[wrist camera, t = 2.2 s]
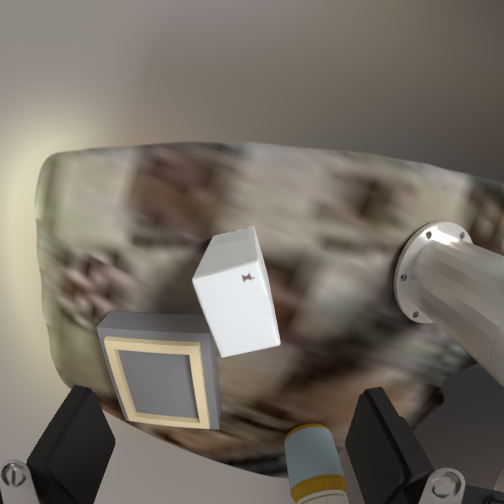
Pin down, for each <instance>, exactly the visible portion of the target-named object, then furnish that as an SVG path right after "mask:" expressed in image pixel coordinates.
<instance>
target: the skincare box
mask: <svg viewBox="0 0 504 504" xmlns="http://www.w3.org/2000/svg"><path fill="white" fill-rule="evenodd" d="M192 283H193V286H194V289H195V291H196V294H197V297H198V300H199V303H200V305H201V308H202V311H203V313H204V316H205V318H206V321H207V323H208V326H209V328H210V331H211V333H212V336H213V338H214V341H215V343H216V346H217V348H218V350H219V353H220V356H221V357H222V358H223V357H228V356H233V355H237V354H242V353H247V352H252V351H257V350H261V349H266V348H270V347H275V346H279V345H280V337H279V332H278V326H277V321H276V315H275V310H274V306H273V301H272V296H271V290H270V285H269V280H268V276H267V271H266V267H265V264H264V260H263V256H262V253H261V249H260V246H259V242H258V238H257V235H256V231H255V228H254V226H253V225H252V226H248V227H245V228H241V229H237V230H233V231H230V232H226V233H223V234H219V235H215V236H213V237H212V239H211V241H210V243H209V245H208V247H207V249H206V251H205V253H204V256H203V258H202V260H201V262H200V264H199V266H198V268H197V270H196V272H195V274H194V276H193V278H192Z"/></svg>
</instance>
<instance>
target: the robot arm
mask: <svg viewBox="0 0 504 504" xmlns="http://www.w3.org/2000/svg"><path fill="white" fill-rule="evenodd" d="M394 293H395V298H396V301H397V304H398V306H399V307H400V309H401V311H402V312H403V313H404V314H405V315H406V316H407V317H408V318H410V319H411V320H413V321H415V322H418V323H425V324H427V323H435V324H436V325H438V326H439V327H440V328H441V329H442V330H443V331H444V332H445V333H447V334H448V335H449V336H450V337H451V338H452V339H453V340H454V341H455V342H457V343H458V344H459V345H460V346H461V347H462V348H463V349H464V350H465V351H466V352H467V353H468V354H469V355H471V356H472V357H473V358H474V359H475V360H476V361H477V362H478V363H479V364H480V365H481V366H482V367H483V368H484V369H485V370H486V371H487V372H488V373H490V375H491V376H493V377H494V378H495V379H496V380H497V381H498V382H499V383H500V384H501V385H502V386H503V387H504V256H501V255H499V254H496V253H494V252H491V251H489V250H486V249H484V248H481V247H479V246H476V245H474V244H473V243H472V241H471V238H470V236H469V235H468V233H467V232H466V231H465V230H464V229H463V228H462V227H461V226H459V225H457V224H455V223H452V222H449V221H435V222H431V223H429V224H427V225H425V226H423V227H422V228H421V229H419V230H418V231H417V232H416V233H415V234H414V235H413V236H412V237H411V238H410V239H409V241H408V242H407V244H406V245H405V247H404V248H403V250H402V253H401V255H400V257H399V259H398V262H397V265H396V269H395V275H394ZM345 445H346V450H347V452H348V455H349V458H350V461H351V464H352V467H353V469H354V472H355V475H356V478H357V481H358V484H359V487H360V490H361V493H362V495H363V499H364V502H365V504H504V470H503V472H502V474H501V476H500V478H499V479H498V482H497V484H496V486H495V490H490V489H485V488H479V487H475V486H470V485H465V480H464V477H463V476H462V474H461V473H460V472H458V471H457V470H454V469H451V468H443V469H439V470H437V471H435V470H434V468H433V466H432V465H431V463H430V461H429V459H428V458H427V456H426V454H425V452H424V450H423V449H422V448H421V445H420V444H419V442H418V440H417V439H416V437H415V435H414V433H413V432H412V430H411V428H410V427H409V425H408V423H407V422H406V420H405V419H404V418H403V417H401V416H400V417H399V415H398V413H397V411H396V410H395V408H394V406H393V405H392V403H391V401H390V400H389V398H388V396H387V395H386V393H385V391H384V390H383V388H382V387H377V388H371V389H366V390H365V391H364V393H363V394H360V396H359V399H358V402H357V406H356V409H355V412H354V416H353V419H352V422H351V425H350V428H349V431H348V434H347V437H346V441H345ZM114 447H115V437H114V435H113V433H112V431H111V429H110V427H109V425H108V422H107V420H106V418H105V416H104V413H103V411H102V409H101V406H100V404H99V401H98V399H97V396H96V394H95V393H94V392H92V390H91V389H90V388H88V387H83V386H78V385H76V386H74V387H73V388H72V390H71V391H70V393H69V394H68V396H67V397H66V399H65V400H64V402H63V403H62V405H61V406H60V408H59V409H58V411H57V413H56V414H55V415H54V417H53V419H52V420H51V422H50V423H49V425H48V427H47V428H46V430H45V431H44V433H43V434H42V436H41V438H40V439H39V441H38V443H37V444H36V446H35V448H34V449H33V451H32V453H31V454H30V456H29V458H28V459H27V463H26V464H25V463H24V462H22V461H20V460H16V459H14V460H8V461H6V462H5V463H3V464H2V465H1V467H0V504H93V503H94V501H95V498H96V495H97V492H98V489H99V487H100V484H101V481H102V478H103V476H104V473H105V470H106V468H107V465H108V462H109V460H110V457H111V455H112V452H113V449H114Z"/></svg>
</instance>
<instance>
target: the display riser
mask: <svg viewBox="0 0 504 504" xmlns="http://www.w3.org/2000/svg"><path fill="white" fill-rule="evenodd" d="M96 328H97V332H98V336H99V339H100V343H101V347H102V350H103V354H104V358H105V361H106V364H107V368H108V371H109V374H110V377H111V380H112V383H113V386H114V389H115V392H116V395H117V398H118V401H119V403H120V406H121V409H122V411H123V414H124V417H125V419H126V420H127V421H133V422H139V423H146V424H154V425H162V426H172V427H183V428H197V429H219V426H220V415H221V401H220V391H219V380H218V368H217V356H216V343H215V341H214V338H213V336H212V333H211V331H210V328H209V326H208V323H207V321H206V318H205V316H204V314H169V313H143V312H123V311H110V312H109V313H108V315H107V316H106V317H105V318H104V319H103V320H102V321H101V322H100V323H99V325H98V326H97V327H96Z"/></svg>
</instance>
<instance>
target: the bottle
mask: <svg viewBox="0 0 504 504" xmlns="http://www.w3.org/2000/svg"><path fill="white" fill-rule="evenodd" d="M284 447H285V455H286V462H287V469H288V476H289V484H290V491H291V496H292V498H293V499H294V501H295V502H296V504H349V502H348V499H347V495H346V493H345V492H346V485H347V483H346V479H345V476H344V473H343V469H342V466H341V463H340V459H339V456H338V453H337V449H336V446H335V443H334V440H333V436H332V433H331V431H330V429H329V428H328V427H327V426H324V425H321V424H318V423H308V424H303V425H300V426H298V427H296V428H294V429H293V430H291V431H290V432H289V433H288V434H287V435H286V437H285V439H284Z"/></svg>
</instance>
